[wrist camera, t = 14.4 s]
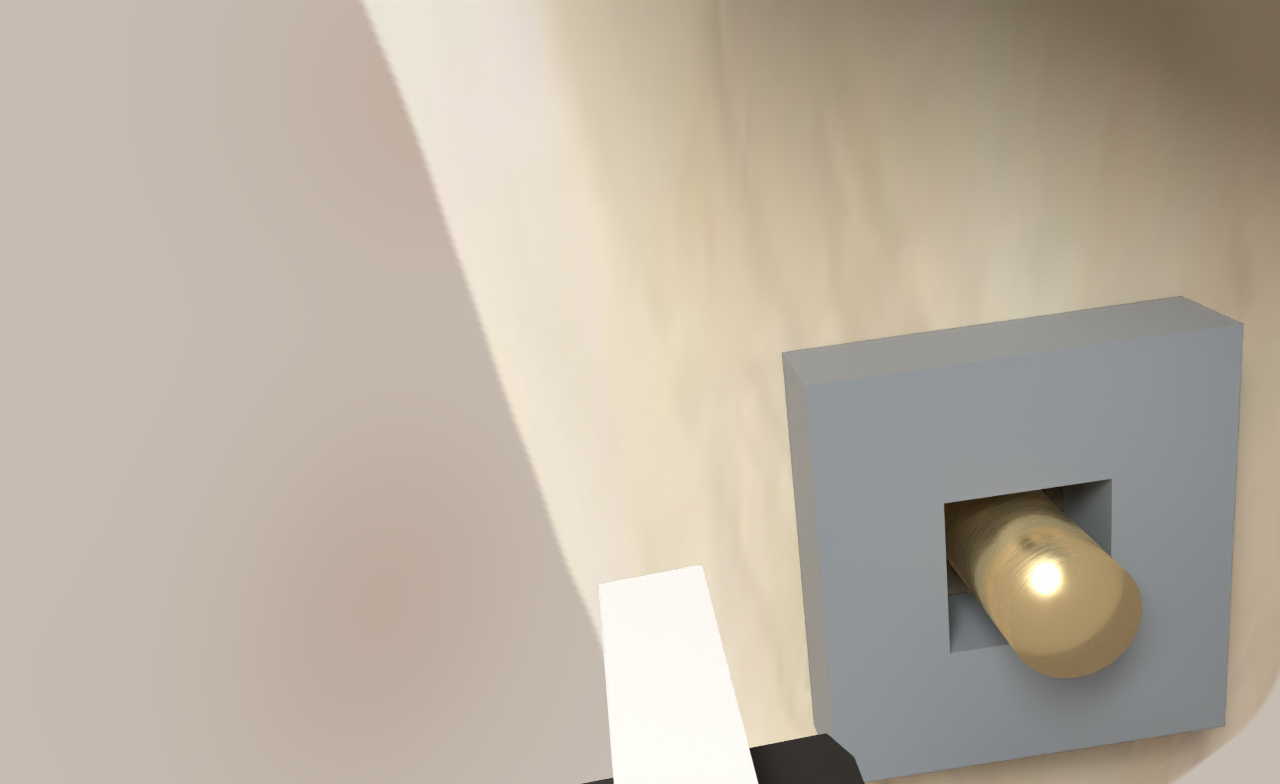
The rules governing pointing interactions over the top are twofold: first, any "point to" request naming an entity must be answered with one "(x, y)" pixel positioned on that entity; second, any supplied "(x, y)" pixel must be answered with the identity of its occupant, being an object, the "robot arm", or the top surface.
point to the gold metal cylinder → (1043, 582)
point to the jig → (1003, 464)
